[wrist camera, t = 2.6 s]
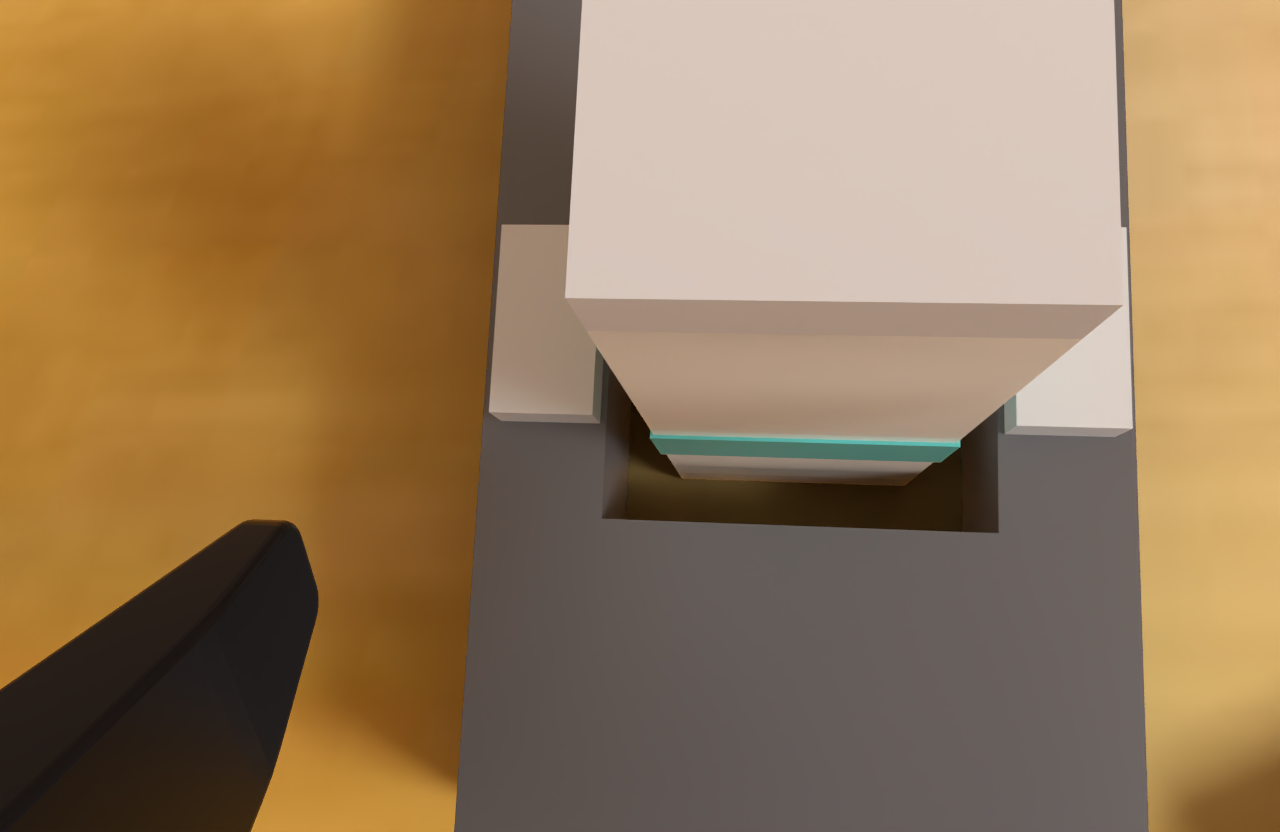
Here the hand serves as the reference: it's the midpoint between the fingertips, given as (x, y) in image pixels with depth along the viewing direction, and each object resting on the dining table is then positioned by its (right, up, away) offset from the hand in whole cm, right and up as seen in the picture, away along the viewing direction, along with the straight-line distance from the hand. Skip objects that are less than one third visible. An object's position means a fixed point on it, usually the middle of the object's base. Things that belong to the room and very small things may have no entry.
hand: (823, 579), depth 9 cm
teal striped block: (+1, +2, +11) cm, 11 cm away
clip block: (+1, +2, +11) cm, 11 cm away
